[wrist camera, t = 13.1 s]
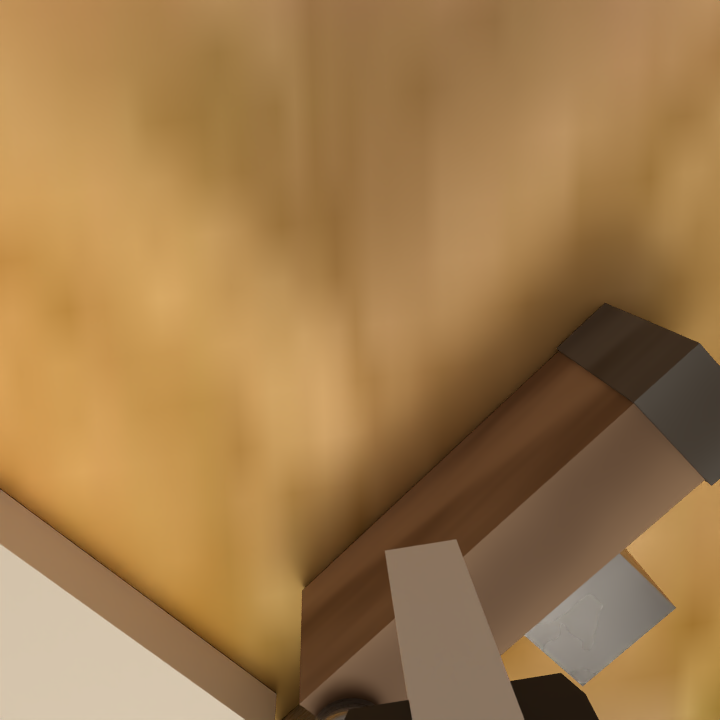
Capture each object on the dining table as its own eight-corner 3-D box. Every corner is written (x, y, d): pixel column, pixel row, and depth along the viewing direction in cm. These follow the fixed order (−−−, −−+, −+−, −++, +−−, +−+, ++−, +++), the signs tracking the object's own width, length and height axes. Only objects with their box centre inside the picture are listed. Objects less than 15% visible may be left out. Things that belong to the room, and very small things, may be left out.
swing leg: (666, 371, 25) (775, 430, 19) (365, 641, 28) (380, 769, 22) (605, 302, 24) (699, 343, 18) (299, 588, 27) (295, 706, 21)
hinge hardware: (499, 419, 26) (571, 512, 18) (604, 521, 27) (708, 644, 20) (221, 680, 28) (190, 853, 21) (332, 761, 29) (338, 948, 22)
